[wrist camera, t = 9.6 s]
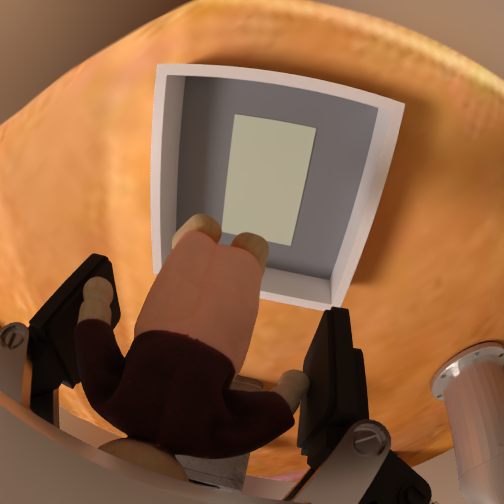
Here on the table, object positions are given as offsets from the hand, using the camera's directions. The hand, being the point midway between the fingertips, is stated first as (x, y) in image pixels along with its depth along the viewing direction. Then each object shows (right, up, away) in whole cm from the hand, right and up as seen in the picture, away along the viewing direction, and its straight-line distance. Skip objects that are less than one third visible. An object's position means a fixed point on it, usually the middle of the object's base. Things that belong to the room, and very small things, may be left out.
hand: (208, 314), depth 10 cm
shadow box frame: (+3, +8, +13) cm, 15 cm away
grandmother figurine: (+1, +2, +4) cm, 4 cm away
